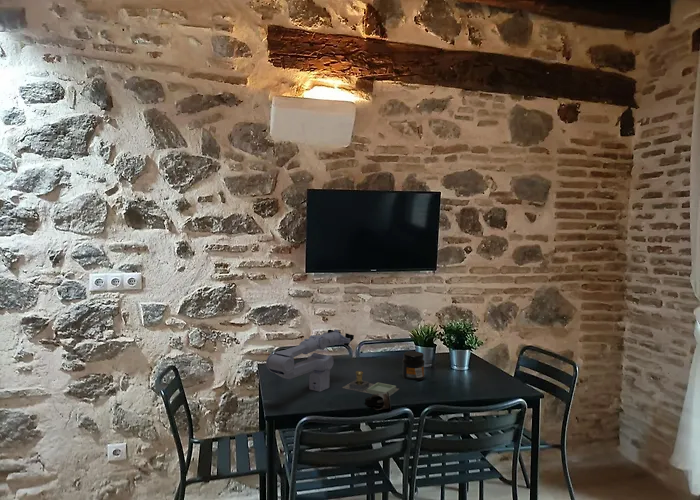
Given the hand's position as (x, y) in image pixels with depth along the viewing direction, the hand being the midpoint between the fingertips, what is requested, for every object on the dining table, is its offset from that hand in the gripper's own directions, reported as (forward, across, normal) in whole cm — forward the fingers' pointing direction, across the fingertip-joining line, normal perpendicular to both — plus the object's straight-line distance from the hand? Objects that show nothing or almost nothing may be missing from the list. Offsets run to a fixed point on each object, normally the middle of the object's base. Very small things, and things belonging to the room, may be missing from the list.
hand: (346, 335), depth 244 cm
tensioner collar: (-8, -14, +20) cm, 26 cm away
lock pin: (-8, -14, +19) cm, 25 cm away
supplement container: (+19, -28, +18) cm, 38 cm away
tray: (-7, -26, +20) cm, 33 cm away
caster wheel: (-23, -34, +20) cm, 45 cm away
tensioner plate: (-8, -20, +20) cm, 29 cm away
